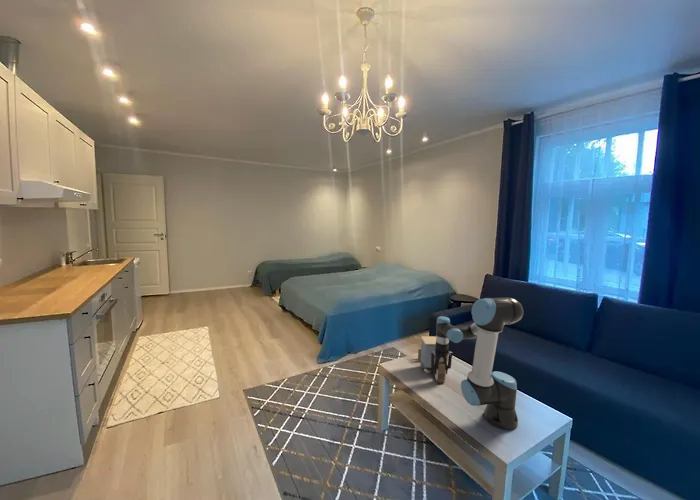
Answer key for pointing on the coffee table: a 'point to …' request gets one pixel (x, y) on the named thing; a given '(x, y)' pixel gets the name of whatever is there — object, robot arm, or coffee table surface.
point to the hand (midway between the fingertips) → (440, 378)
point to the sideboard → (428, 351)
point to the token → (427, 370)
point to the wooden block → (440, 372)
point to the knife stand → (420, 355)
